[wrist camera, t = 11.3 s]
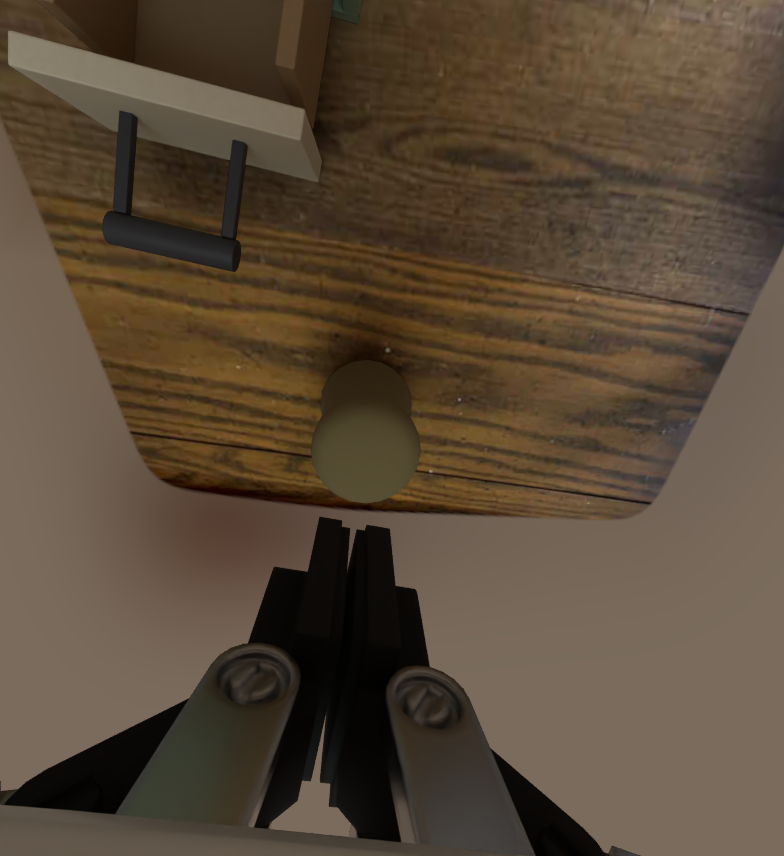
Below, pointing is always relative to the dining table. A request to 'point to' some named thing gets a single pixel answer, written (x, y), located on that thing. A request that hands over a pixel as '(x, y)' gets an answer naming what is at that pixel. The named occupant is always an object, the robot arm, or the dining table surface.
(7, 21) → the dining table surface
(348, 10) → the cabinet
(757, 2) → the dining table surface
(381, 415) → the olive rounded figure
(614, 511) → the dining table surface
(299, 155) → the drawer
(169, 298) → the dining table surface
